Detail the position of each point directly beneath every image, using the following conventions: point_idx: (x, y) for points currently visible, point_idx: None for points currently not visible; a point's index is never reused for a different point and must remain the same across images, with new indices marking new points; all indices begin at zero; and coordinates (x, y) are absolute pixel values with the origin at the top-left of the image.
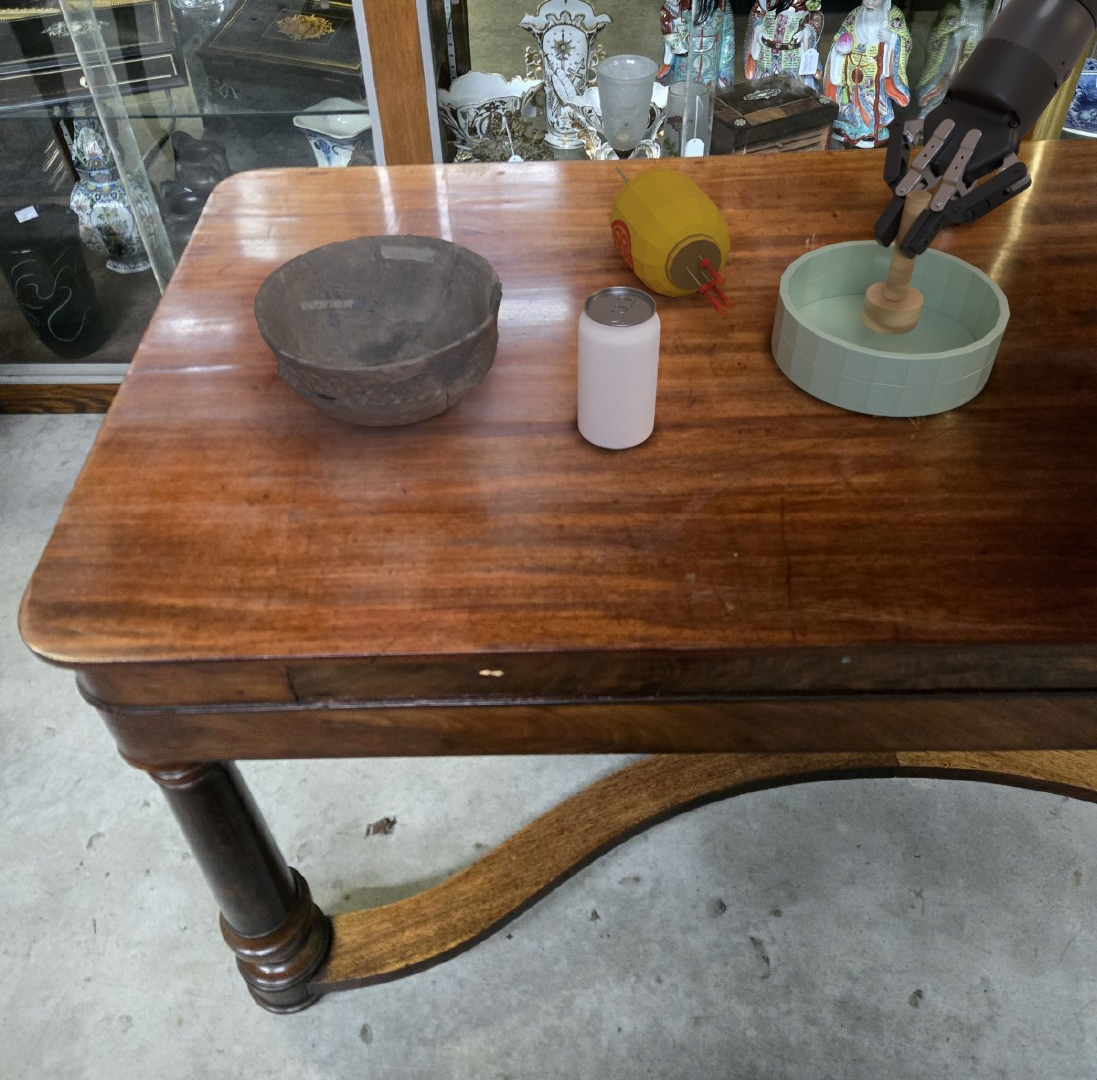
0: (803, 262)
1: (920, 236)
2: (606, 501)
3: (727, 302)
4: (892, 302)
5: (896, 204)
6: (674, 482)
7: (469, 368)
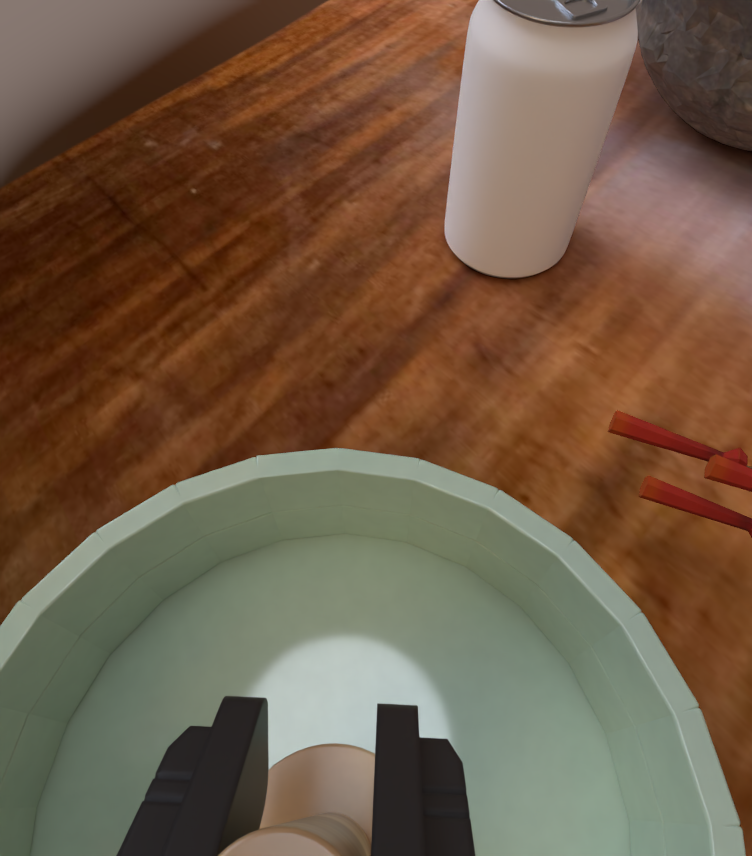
0: (685, 757)
1: (182, 777)
2: (385, 155)
3: (653, 479)
4: (308, 807)
5: (409, 853)
6: (349, 222)
7: (658, 15)
